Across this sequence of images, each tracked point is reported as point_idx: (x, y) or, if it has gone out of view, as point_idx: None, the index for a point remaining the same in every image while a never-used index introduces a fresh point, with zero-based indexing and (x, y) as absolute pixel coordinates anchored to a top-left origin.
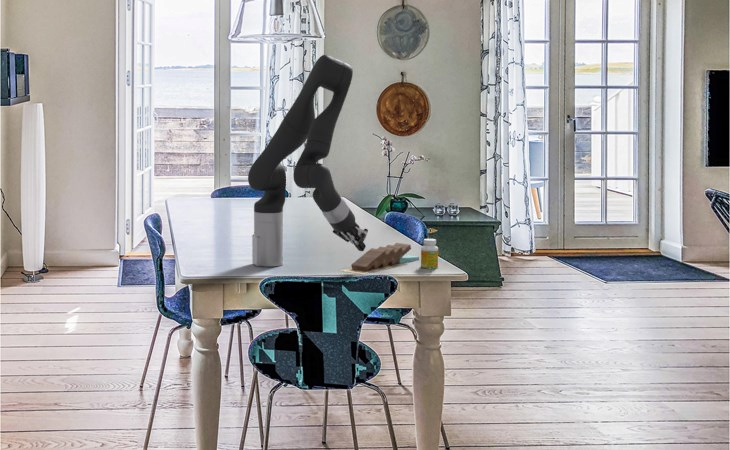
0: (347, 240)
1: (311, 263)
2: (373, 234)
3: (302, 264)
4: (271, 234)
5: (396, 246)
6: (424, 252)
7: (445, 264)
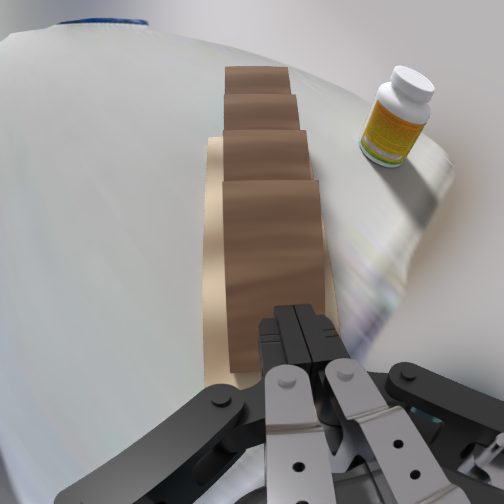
0: (239, 452)
1: (18, 319)
2: (60, 44)
3: (9, 354)
4: None
5: (271, 97)
6: (411, 127)
7: (341, 87)
